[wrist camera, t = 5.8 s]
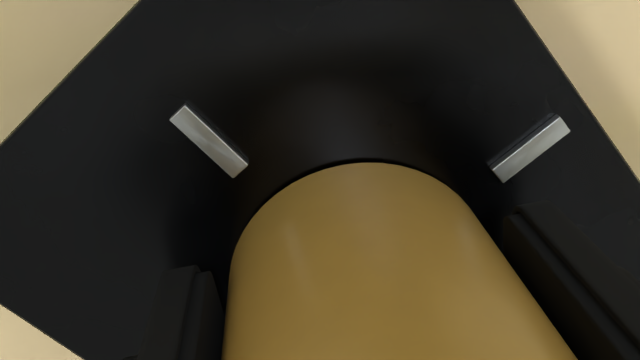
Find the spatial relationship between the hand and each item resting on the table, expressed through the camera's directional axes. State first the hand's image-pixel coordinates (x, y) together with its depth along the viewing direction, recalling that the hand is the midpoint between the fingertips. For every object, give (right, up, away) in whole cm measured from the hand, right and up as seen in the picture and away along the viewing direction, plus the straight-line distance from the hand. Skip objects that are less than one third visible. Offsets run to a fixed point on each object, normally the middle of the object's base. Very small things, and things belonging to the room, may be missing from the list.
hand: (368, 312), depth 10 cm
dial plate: (0, +1, +3) cm, 3 cm away
